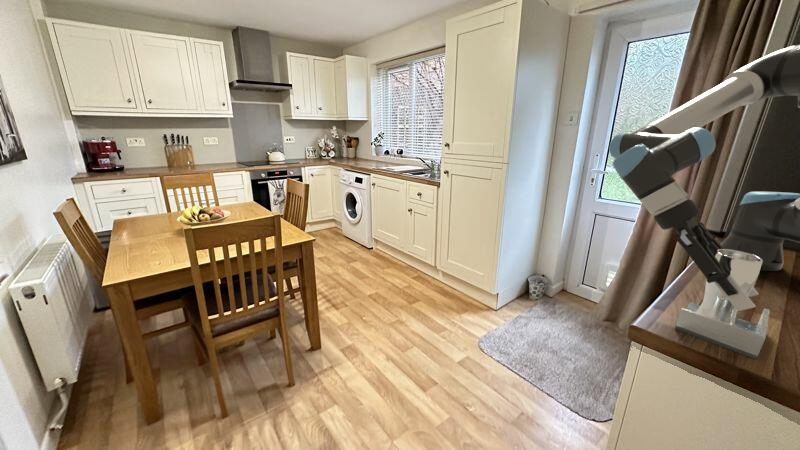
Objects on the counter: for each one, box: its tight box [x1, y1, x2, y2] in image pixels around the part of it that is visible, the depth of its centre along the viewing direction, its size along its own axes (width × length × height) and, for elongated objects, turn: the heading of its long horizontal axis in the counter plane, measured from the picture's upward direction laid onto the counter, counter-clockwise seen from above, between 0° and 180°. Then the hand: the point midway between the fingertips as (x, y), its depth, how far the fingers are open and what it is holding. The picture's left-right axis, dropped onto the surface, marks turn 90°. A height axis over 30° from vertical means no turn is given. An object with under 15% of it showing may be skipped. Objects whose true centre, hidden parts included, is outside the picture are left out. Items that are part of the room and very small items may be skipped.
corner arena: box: [674, 302, 771, 360], centre depth 68 cm, size 15×12×5 cm
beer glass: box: [696, 249, 763, 325], centre depth 66 cm, size 7×7×15 cm
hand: (748, 302), depth 64 cm, fingers closed on beer glass, 7 cm apart
